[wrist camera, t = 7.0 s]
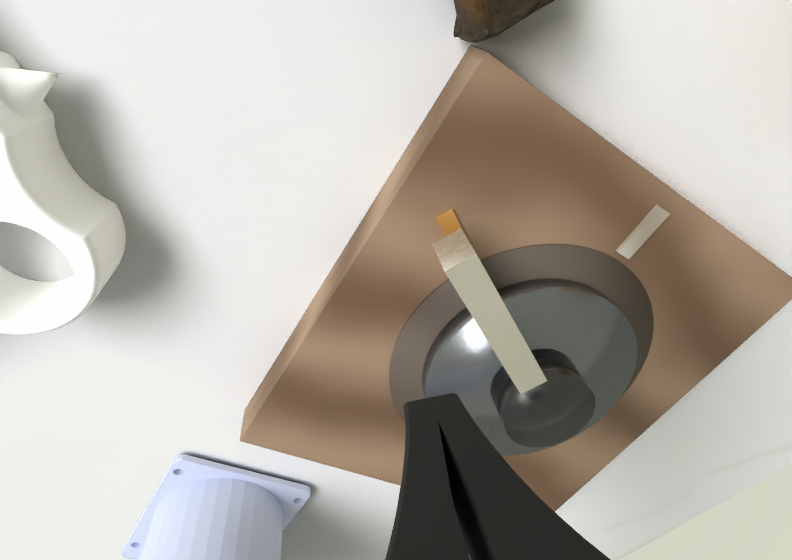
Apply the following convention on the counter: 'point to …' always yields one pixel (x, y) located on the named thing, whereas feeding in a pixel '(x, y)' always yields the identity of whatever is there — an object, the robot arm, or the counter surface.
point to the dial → (528, 354)
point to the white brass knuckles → (49, 209)
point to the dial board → (508, 281)
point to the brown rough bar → (491, 16)
